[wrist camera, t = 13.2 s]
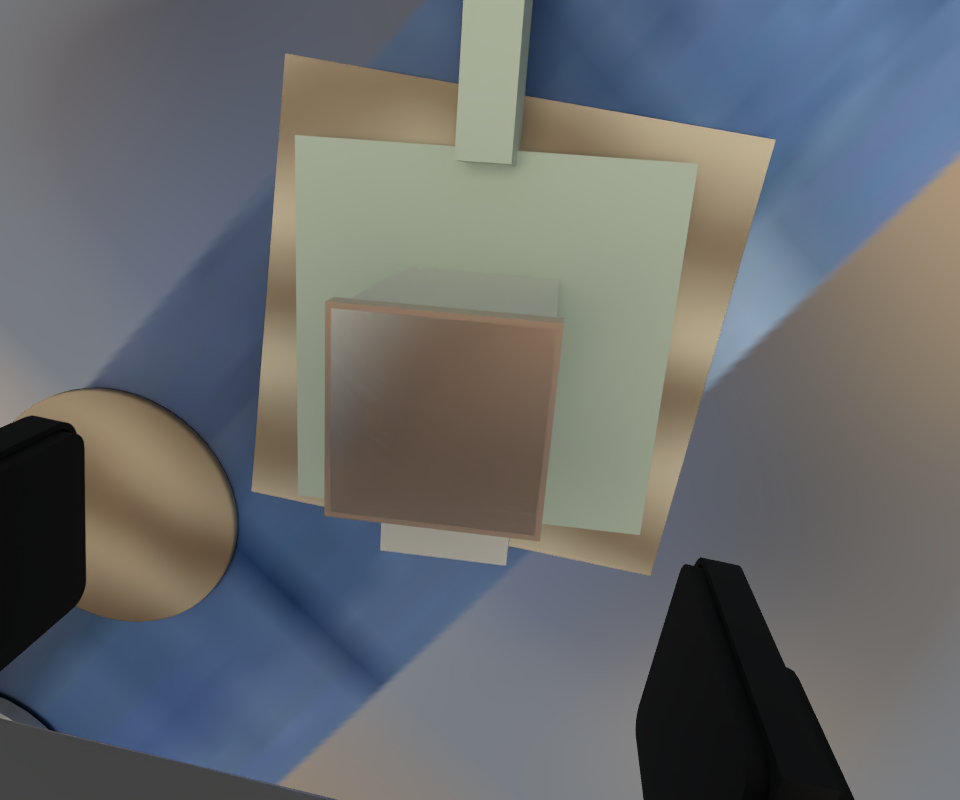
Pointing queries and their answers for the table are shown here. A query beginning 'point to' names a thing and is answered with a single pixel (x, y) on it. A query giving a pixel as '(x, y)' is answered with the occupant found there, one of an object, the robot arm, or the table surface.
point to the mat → (146, 505)
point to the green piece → (509, 262)
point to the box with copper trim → (442, 409)
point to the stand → (547, 129)
